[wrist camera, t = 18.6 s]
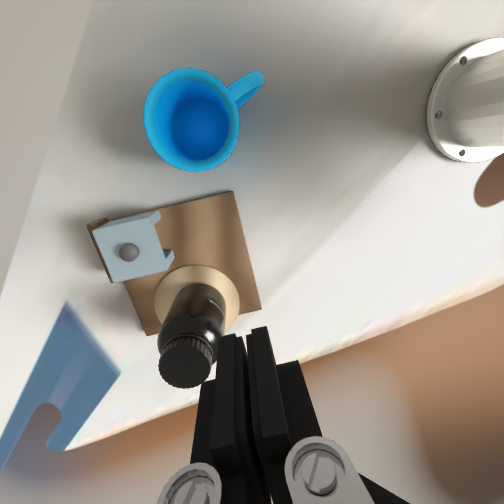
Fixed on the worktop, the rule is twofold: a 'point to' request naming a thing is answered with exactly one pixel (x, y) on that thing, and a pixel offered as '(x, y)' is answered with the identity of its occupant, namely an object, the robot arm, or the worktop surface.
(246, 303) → the board
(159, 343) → the supplement bottle
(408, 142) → the worktop surface
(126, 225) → the cover
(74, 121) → the worktop surface
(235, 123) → the mug
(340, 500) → the robot arm
